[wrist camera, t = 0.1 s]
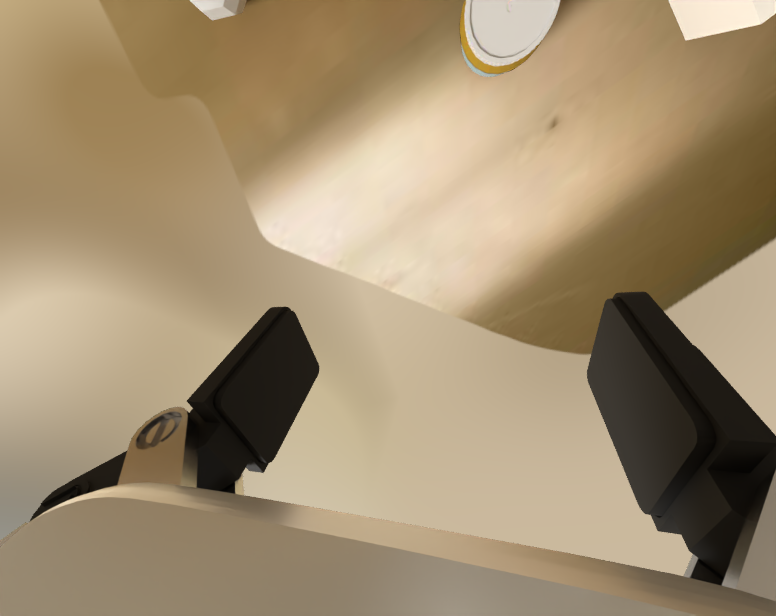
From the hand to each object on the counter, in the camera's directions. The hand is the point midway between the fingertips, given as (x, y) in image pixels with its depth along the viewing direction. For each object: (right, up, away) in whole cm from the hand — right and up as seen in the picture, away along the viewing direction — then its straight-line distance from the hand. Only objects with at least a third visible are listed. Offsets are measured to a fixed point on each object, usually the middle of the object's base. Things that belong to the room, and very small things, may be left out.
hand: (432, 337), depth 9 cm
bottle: (+10, +30, +22) cm, 39 cm away
